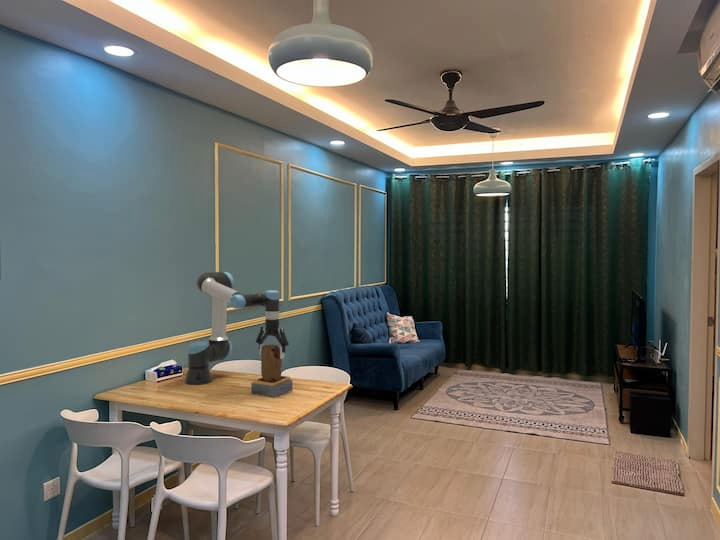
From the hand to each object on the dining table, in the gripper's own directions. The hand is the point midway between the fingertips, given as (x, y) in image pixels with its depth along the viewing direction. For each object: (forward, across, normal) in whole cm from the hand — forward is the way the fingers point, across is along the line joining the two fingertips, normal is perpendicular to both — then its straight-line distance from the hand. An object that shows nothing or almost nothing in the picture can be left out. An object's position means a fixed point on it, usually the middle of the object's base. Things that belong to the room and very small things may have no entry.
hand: (271, 357), depth 293 cm
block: (+14, 0, 0) cm, 14 cm away
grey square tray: (+19, 0, 0) cm, 19 cm away
